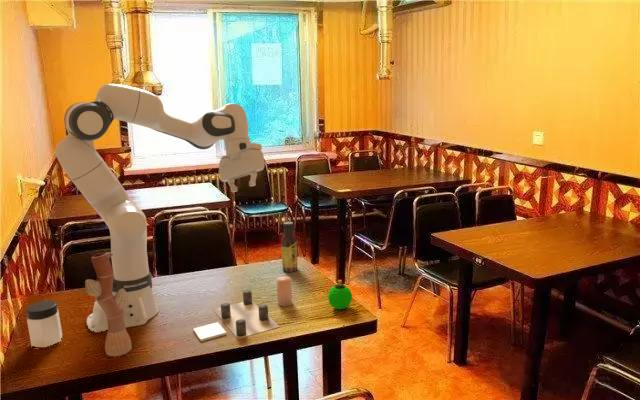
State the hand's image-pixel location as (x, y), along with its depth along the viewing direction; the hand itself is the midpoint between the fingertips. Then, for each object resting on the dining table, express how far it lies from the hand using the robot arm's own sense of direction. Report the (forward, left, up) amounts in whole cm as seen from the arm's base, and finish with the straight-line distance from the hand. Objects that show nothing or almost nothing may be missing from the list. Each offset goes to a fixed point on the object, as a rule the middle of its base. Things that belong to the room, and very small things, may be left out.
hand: (243, 188), depth 176 cm
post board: (-9, -16, -40) cm, 44 cm away
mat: (-22, -20, -39) cm, 49 cm away
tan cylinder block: (+7, -13, -39) cm, 42 cm away
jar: (-66, +2, -40) cm, 77 cm away
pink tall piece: (-49, -15, -40) cm, 64 cm away
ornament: (+21, -27, -40) cm, 53 cm away
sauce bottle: (+23, +15, -40) cm, 48 cm away
